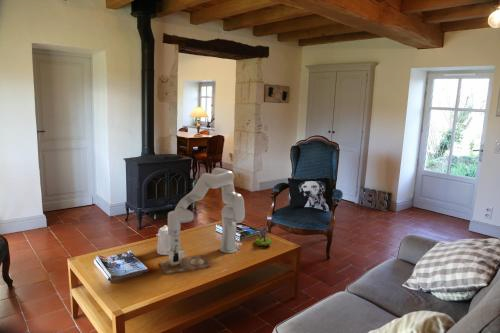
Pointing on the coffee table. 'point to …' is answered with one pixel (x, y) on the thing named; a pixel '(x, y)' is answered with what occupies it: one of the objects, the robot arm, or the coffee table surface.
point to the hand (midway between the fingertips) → (174, 258)
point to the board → (185, 265)
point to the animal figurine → (263, 238)
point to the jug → (171, 254)
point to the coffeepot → (163, 241)
